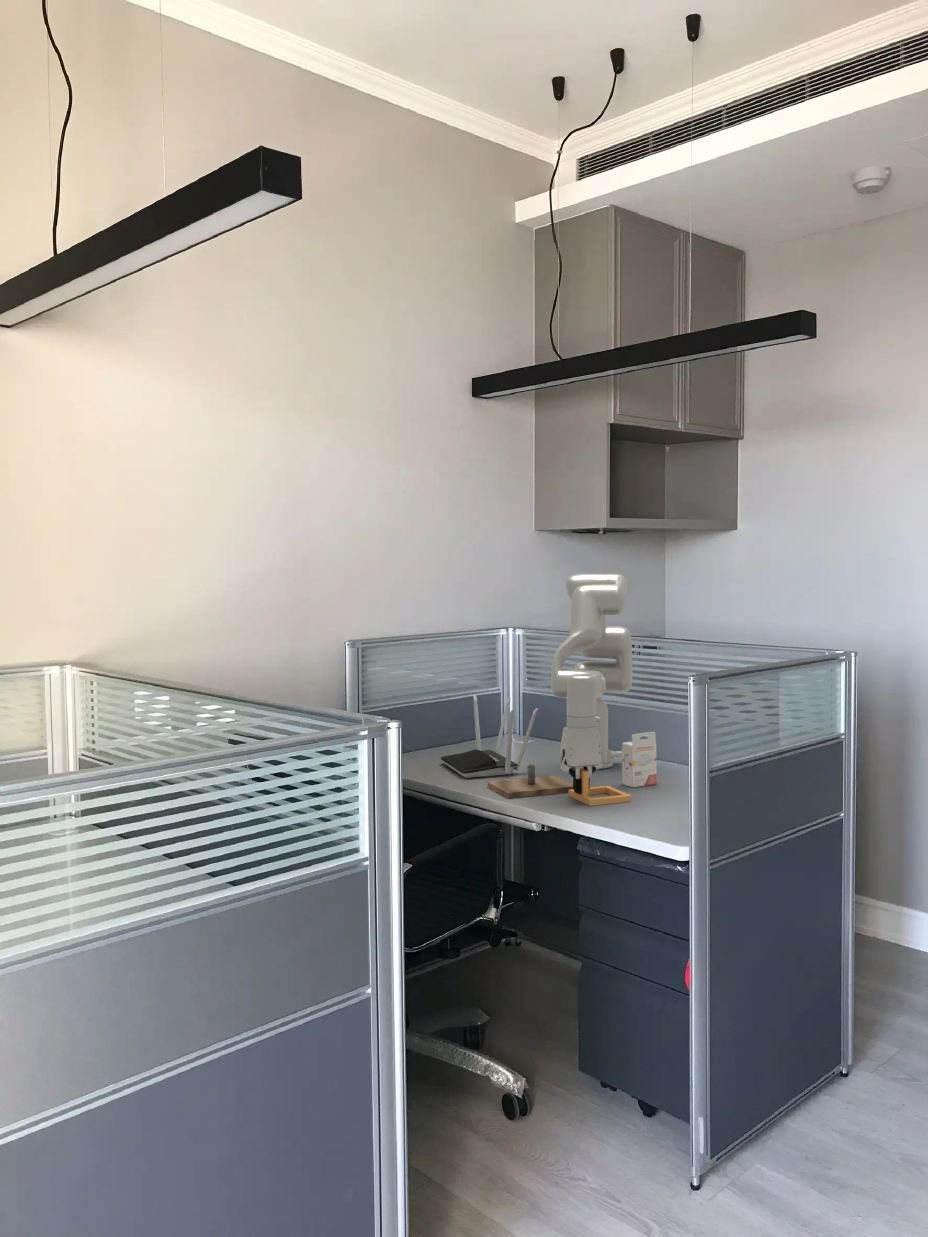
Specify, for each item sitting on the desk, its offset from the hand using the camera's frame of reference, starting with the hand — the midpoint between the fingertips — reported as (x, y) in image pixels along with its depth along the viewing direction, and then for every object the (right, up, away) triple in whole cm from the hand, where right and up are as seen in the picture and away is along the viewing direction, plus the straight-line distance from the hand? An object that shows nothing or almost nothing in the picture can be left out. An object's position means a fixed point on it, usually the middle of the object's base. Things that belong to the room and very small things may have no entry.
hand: (581, 792), depth 255 cm
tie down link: (+5, -2, +2) cm, 6 cm away
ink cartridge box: (+18, -1, +18) cm, 25 cm away
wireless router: (-23, 0, +39) cm, 46 cm away
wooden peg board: (-12, -1, +13) cm, 18 cm away
